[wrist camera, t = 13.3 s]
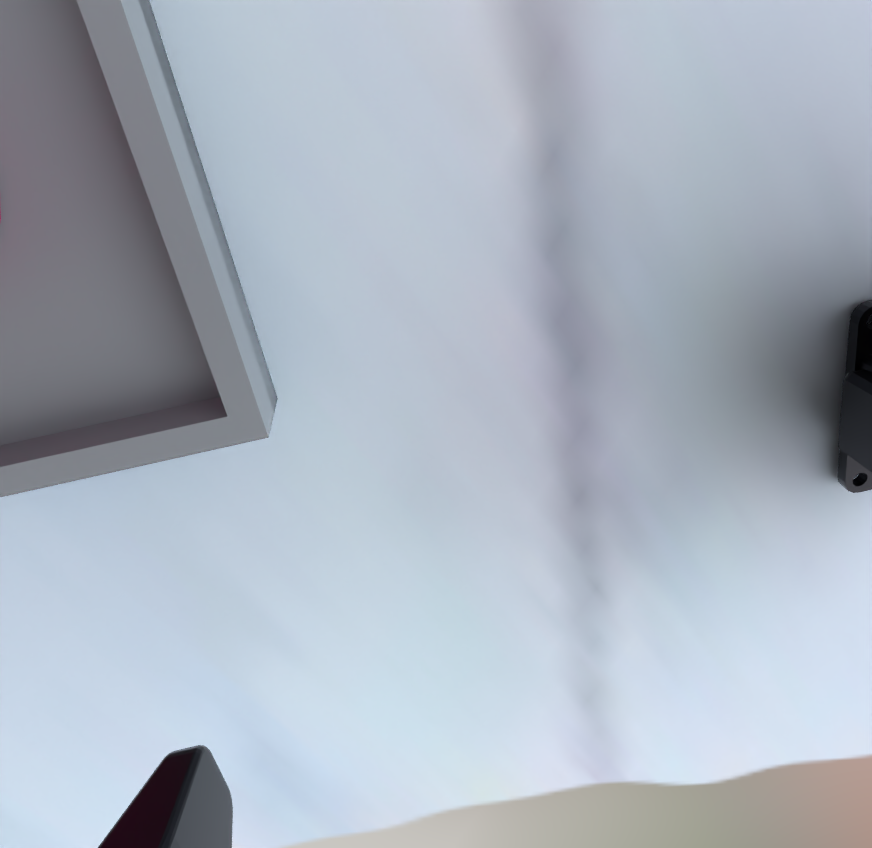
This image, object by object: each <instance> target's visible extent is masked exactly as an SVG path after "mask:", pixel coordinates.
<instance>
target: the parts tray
mask: <svg viewBox="0 0 872 848" xmlns="http://www.w3.org/2000/svg"><path fill="white" fill-rule="evenodd" d="M0 211H1V221H0V497H4V496H8V495H13V494H17V493H22V492H26V491H31V490H35V489H40V488H44V487H48V486H53V485H57V484H62V483H66V482H71V481H75V480H80V479H84V478H89V477H93V476H98V475H102V474H107V473H111V472H116V471H120V470H125V469H129V468H134V467H138V466H143V465H147V464H152V463H156V462H161V461H165V460H170V459H174V458H179V457H183V456H187V455H192V454H196V453H201V452H205V451H210V450H214V449H219V448H223V447H228V446H232V445H237V444H241V443H246V442H250V441H255V440H259V439H264V438H268V437H269V433H270V429H271V424H272V420H273V416H274V411H275V407H276V403H277V396H276V392H275V389H274V386H273V383H272V380H271V377H270V374H269V371H268V368H267V365H266V361H265V358H264V355H263V352H262V349H261V346H260V343H259V340H258V337H257V334H256V330H255V327H254V324H253V321H252V318H251V315H250V312H249V309H248V306H247V303H246V300H245V296H244V293H243V290H242V287H241V284H240V281H239V278H238V275H237V272H236V269H235V265H234V262H233V259H232V256H231V253H230V250H229V247H228V244H227V241H226V238H225V235H224V231H223V228H222V225H221V222H220V219H219V216H218V213H217V210H216V207H215V204H214V200H213V197H212V194H211V191H210V188H209V185H208V182H207V179H206V176H205V173H204V169H203V166H202V163H201V160H200V157H199V154H198V151H197V148H196V145H195V142H194V139H193V135H192V132H191V129H190V126H189V123H188V120H187V117H186V114H185V111H184V108H183V104H182V101H181V98H180V95H179V92H178V89H177V86H176V83H175V80H174V77H173V73H172V70H171V67H170V64H169V61H168V58H167V55H166V52H165V49H164V46H163V43H162V39H161V36H160V33H159V30H158V27H157V24H156V21H155V18H154V15H153V12H152V8H151V5H150V2H149V0H0Z"/></svg>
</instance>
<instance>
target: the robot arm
mask: <svg viewBox="0 0 872 848" xmlns="http://www.w3.org/2000/svg"><path fill="white" fill-rule="evenodd" d="M871 315H872V300H870V301H866V302H864V303H861V304H860V305H859V306H858V307H856V308H855V310H854V311H853V313H852V314H851V318H850V323H849V336H848V349H847V362H846V375H845V379H844V381H843V392H842V405H841V419H840V432H839V449H840V453H839V466H838V482H839V483H840V484H841V485H842V486H843V487H845V488H846V489H847V490H848V491H850V492H853V493H855V492H862V491H867V490H871V489H872V321H871V322H870V323H869V324H866V323H867V320H868V318H869V317H870V316H871ZM857 474H859V475H858V476H857V477H856V478H855V479H853V478H854V477H855V476H856V475H857ZM232 818H233V807H232V798H231V794H230V790H229V788H228V786H227V784H226V782H225V780H224V778H223V776H222V774H221V772H220V770H219V768H218V766H217V764H216V762H215V760H214V758H213V756H212V753H211V752H210V750H209V749H208V748H207V747H206V746H203V745H198V746H194V747H190V748H185V749H181V750H177V751H173V752H171V753H169V754H168V755H167V756H166V757H165V758H164V759H163V760H162V762H161V763H160V764H159V766H158V767H157V768H156V770H155V771H154V773H153V774H152V775H151V777H150V778H149V779H148V781H147V782H146V783H145V785H144V786H143V787H142V789H141V790H140V791H139V793H138V794H137V795H136V797H135V798H134V800H133V801H132V802H131V804H130V805H129V806H128V808H127V809H126V810H125V812H124V813H123V814H122V816H121V817H120V818H119V820H118V821H117V822H116V824H115V825H114V827H113V828H112V829H111V831H110V832H109V833H108V835H107V836H106V837H105V839H104V840H103V841H102V843H101V844H100V845H99V847H98V848H232Z"/></svg>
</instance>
